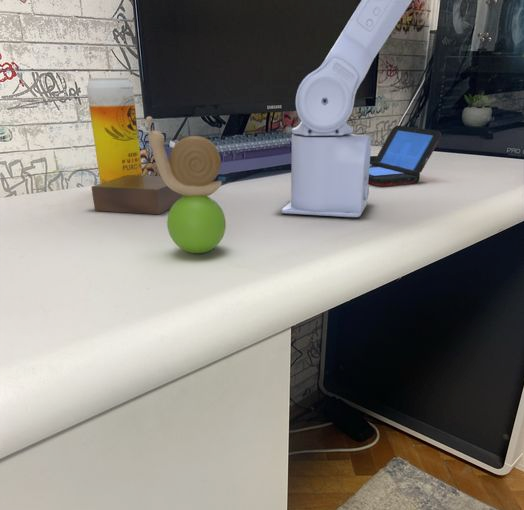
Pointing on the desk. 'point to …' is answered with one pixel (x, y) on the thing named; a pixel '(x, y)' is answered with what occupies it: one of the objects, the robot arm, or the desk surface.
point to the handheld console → (403, 156)
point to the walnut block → (134, 195)
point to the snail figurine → (191, 190)
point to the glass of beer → (114, 127)
